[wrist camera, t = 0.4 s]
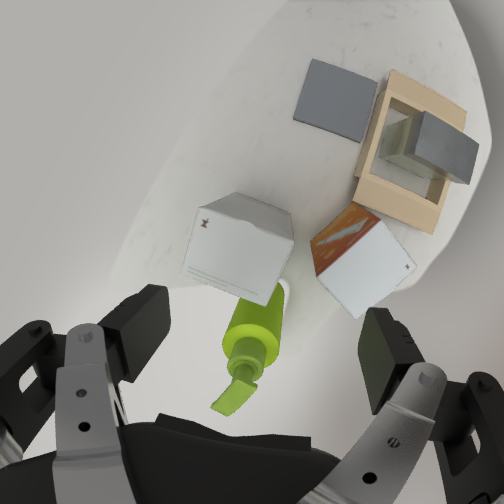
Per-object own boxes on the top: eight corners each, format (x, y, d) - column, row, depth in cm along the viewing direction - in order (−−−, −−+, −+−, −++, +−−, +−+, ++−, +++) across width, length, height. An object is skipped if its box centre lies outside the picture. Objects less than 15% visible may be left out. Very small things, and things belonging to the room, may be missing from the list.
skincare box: (218, 233, 39) (174, 274, 24) (234, 188, 37) (195, 202, 22) (276, 256, 39) (265, 312, 24) (294, 211, 37) (296, 241, 22)
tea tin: (387, 126, 31) (425, 110, 20) (430, 147, 31) (479, 144, 20) (377, 157, 33) (414, 153, 21) (422, 178, 33) (469, 184, 21)
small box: (352, 200, 35) (382, 217, 23) (381, 235, 36) (419, 267, 23) (307, 241, 37) (314, 278, 25) (338, 274, 38) (356, 322, 26)
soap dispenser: (232, 304, 42) (189, 401, 23) (256, 267, 39) (223, 356, 20) (266, 324, 42) (245, 429, 23) (292, 289, 40) (288, 390, 21)
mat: (311, 60, 30) (312, 58, 30) (376, 84, 30) (377, 82, 29) (293, 119, 33) (292, 118, 32) (359, 142, 33) (360, 142, 32)
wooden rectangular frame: (382, 77, 29) (391, 68, 26) (453, 115, 29) (467, 111, 25) (346, 197, 35) (352, 200, 31) (420, 228, 34) (432, 235, 31)
